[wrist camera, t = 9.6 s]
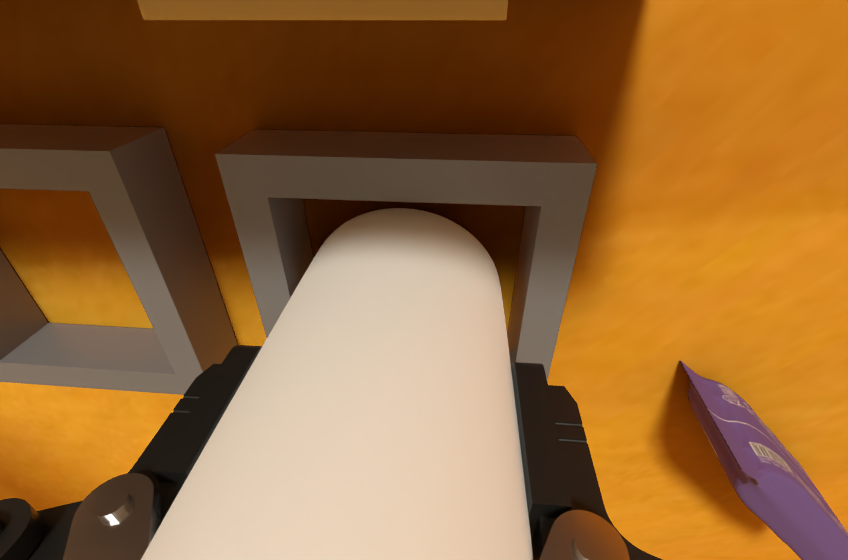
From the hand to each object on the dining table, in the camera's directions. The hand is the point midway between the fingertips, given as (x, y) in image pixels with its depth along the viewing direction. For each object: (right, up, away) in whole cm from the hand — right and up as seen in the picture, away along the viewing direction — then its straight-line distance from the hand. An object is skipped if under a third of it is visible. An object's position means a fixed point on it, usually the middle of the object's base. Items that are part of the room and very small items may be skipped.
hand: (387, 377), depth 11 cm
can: (0, +2, +4) cm, 4 cm away
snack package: (+16, -4, +8) cm, 18 cm away
